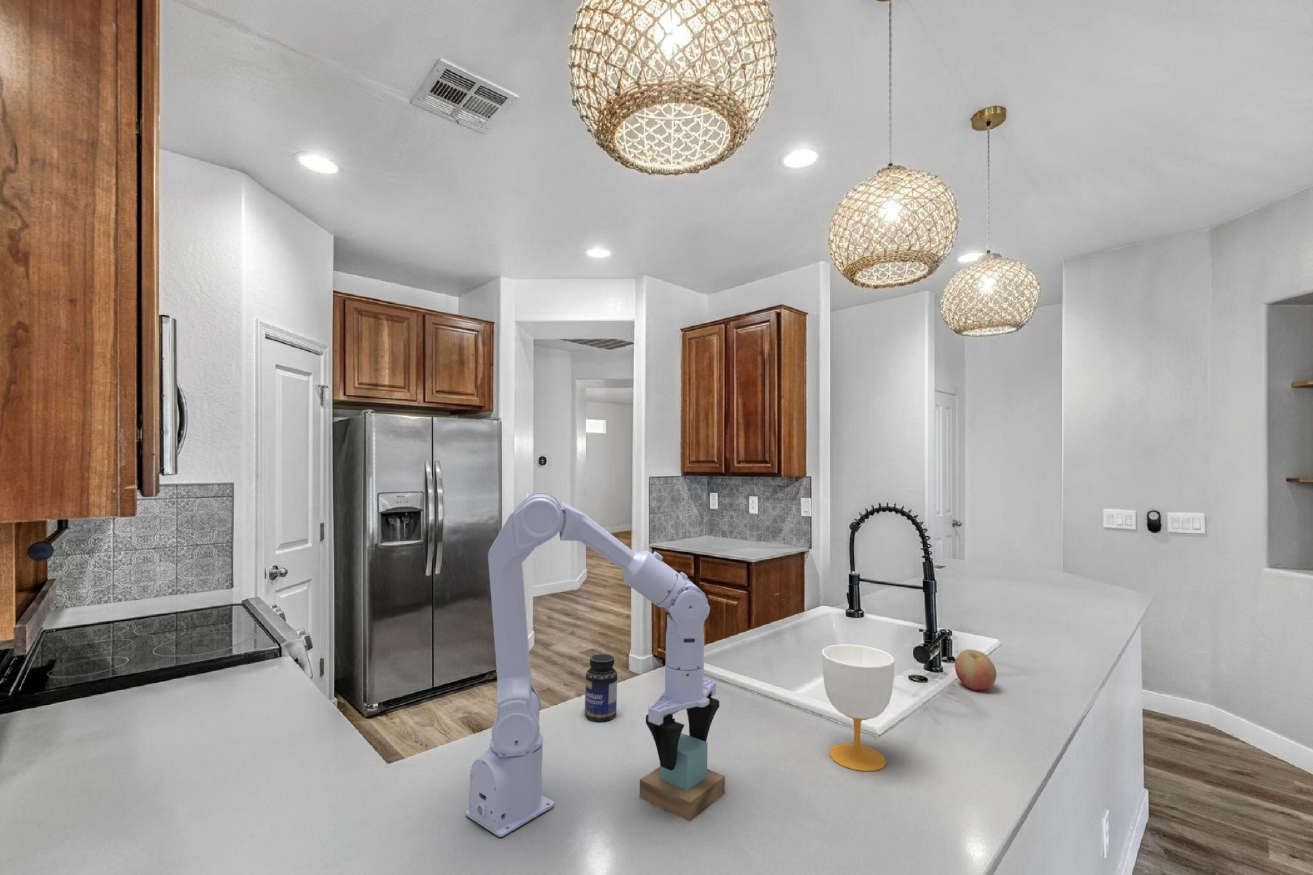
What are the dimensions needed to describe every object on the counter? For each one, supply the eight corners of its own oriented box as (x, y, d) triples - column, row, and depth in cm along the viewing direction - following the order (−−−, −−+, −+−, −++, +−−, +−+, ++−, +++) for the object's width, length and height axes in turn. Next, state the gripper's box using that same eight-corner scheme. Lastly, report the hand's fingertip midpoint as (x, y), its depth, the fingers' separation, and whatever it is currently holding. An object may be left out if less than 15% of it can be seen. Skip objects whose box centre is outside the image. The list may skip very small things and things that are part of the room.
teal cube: (687, 791, 84) (687, 754, 84) (659, 778, 87) (660, 743, 87) (707, 776, 87) (707, 742, 88) (680, 765, 91) (680, 732, 91)
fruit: (959, 692, 129) (959, 655, 129) (952, 679, 137) (952, 644, 137) (1000, 696, 127) (1000, 659, 127) (990, 683, 134) (990, 648, 135)
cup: (813, 764, 97) (814, 658, 97) (828, 735, 107) (829, 640, 108) (890, 783, 91) (890, 671, 92) (898, 751, 102) (898, 650, 102)
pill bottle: (578, 718, 112) (579, 659, 113) (596, 706, 118) (597, 650, 118) (605, 725, 110) (606, 664, 110) (622, 713, 115) (623, 655, 116)
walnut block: (689, 824, 81) (689, 802, 81) (639, 800, 86) (639, 779, 86) (724, 796, 88) (725, 775, 88) (676, 775, 93) (676, 756, 93)
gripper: (677, 684, 80) (675, 787, 79) (732, 657, 91) (731, 747, 90) (637, 672, 84) (635, 769, 83) (695, 648, 95) (693, 733, 95)
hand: (683, 757), depth 87 cm, fingers open, 7 cm apart
